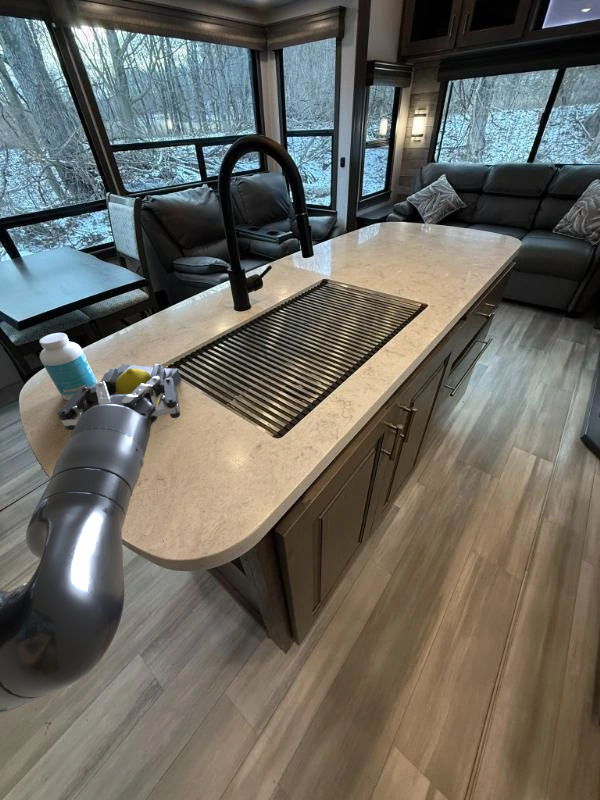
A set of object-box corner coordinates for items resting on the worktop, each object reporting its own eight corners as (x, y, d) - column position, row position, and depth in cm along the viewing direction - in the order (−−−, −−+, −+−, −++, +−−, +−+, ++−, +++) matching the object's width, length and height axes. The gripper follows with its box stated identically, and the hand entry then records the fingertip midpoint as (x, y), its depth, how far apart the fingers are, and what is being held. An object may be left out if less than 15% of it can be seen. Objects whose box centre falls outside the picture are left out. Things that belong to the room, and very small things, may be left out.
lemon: (173, 406, 51) (159, 362, 46) (149, 430, 47) (131, 384, 42) (144, 399, 53) (127, 356, 48) (118, 421, 49) (97, 376, 44)
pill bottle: (106, 389, 75) (81, 335, 67) (74, 406, 70) (43, 350, 62) (88, 379, 78) (61, 326, 70) (56, 395, 73) (23, 340, 65)
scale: (94, 406, 70) (87, 392, 68) (126, 374, 79) (121, 361, 77) (155, 412, 68) (149, 399, 66) (181, 379, 77) (177, 366, 75)
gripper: (165, 422, 34) (182, 343, 47) (11, 440, 32) (73, 353, 45) (182, 470, 38) (193, 386, 52) (48, 489, 37) (95, 397, 50)
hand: (137, 371), depth 48 cm, fingers closed on lemon, 5 cm apart
